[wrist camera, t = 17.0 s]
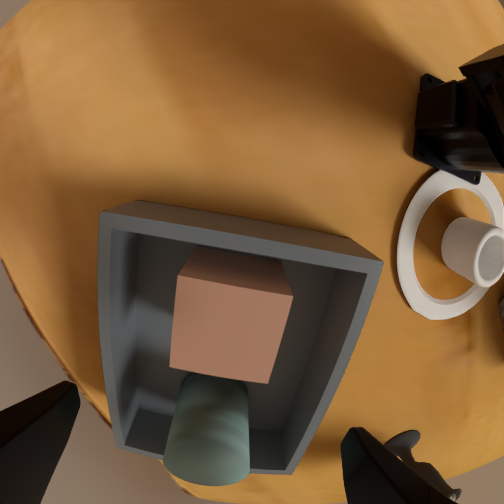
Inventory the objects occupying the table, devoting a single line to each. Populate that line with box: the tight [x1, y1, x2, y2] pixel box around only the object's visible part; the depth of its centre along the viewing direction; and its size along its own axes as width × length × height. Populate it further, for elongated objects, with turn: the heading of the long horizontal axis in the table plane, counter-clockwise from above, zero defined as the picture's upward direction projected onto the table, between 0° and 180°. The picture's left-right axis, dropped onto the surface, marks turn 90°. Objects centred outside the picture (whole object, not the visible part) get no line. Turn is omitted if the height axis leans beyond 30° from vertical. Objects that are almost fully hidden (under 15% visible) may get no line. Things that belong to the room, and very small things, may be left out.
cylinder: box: [163, 372, 250, 486], centre depth 17 cm, size 5×5×7 cm
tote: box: [97, 200, 384, 475], centre depth 17 cm, size 13×17×5 cm
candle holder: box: [397, 170, 504, 320], centre depth 16 cm, size 12×12×4 cm
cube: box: [169, 246, 293, 384], centre depth 15 cm, size 5×5×5 cm
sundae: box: [385, 430, 461, 502], centre depth 17 cm, size 7×7×15 cm
